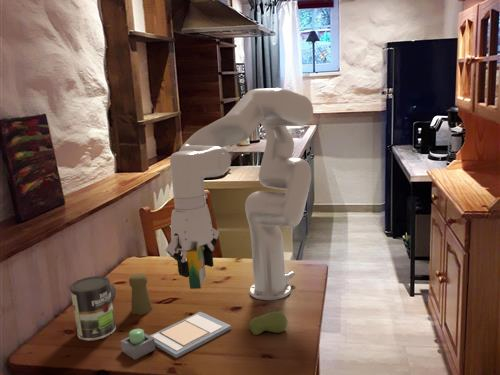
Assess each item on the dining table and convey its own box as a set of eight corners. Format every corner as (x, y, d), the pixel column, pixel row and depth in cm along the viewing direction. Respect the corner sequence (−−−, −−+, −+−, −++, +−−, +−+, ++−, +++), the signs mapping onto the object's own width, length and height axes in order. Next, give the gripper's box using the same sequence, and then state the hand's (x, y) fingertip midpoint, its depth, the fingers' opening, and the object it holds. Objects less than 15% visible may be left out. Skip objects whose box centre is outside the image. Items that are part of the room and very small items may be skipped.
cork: (147, 315, 146) (143, 279, 144) (128, 314, 148) (123, 279, 145) (155, 305, 152) (151, 271, 150) (136, 305, 153) (132, 271, 151)
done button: (140, 339, 130) (138, 327, 129) (148, 344, 127) (146, 331, 126) (127, 345, 127) (126, 332, 127) (135, 350, 125) (133, 337, 124)
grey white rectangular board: (200, 314, 144) (200, 310, 144) (231, 329, 135) (230, 324, 135) (146, 340, 132) (146, 336, 132) (176, 358, 123) (175, 353, 123)
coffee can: (124, 326, 141) (117, 279, 137) (95, 344, 132) (87, 294, 129) (98, 319, 146) (91, 273, 143) (69, 335, 138) (61, 287, 134)
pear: (284, 316, 128) (246, 323, 130) (289, 335, 129) (251, 341, 131) (285, 306, 133) (248, 312, 135) (289, 324, 135) (253, 330, 136)
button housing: (142, 341, 132) (141, 331, 131) (155, 349, 127) (154, 338, 127) (122, 351, 128) (120, 340, 127) (134, 359, 124) (133, 348, 123)
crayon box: (195, 277, 131) (190, 234, 129) (206, 277, 131) (202, 234, 128) (189, 289, 124) (184, 244, 122) (201, 288, 124) (196, 243, 121)
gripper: (206, 192, 131) (212, 257, 135) (151, 208, 119) (159, 278, 123) (226, 196, 126) (231, 262, 130) (171, 212, 114) (178, 286, 118)
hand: (196, 270), depth 127 cm, fingers closed on crayon box, 7 cm apart
